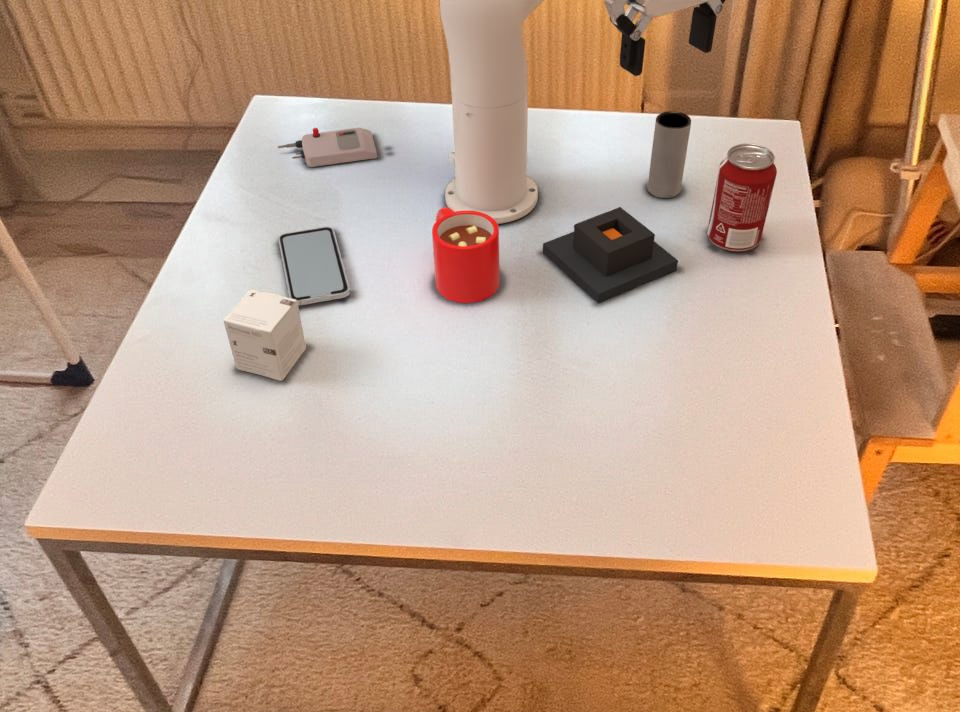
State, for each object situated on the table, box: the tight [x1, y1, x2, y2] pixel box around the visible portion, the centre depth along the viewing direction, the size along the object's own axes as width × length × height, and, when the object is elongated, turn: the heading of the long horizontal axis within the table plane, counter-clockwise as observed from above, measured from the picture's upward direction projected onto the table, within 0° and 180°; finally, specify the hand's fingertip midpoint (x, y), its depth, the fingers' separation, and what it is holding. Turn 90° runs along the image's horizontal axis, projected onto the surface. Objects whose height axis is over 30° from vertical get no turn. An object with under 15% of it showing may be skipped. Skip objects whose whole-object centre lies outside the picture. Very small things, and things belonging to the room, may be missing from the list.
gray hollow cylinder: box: [647, 110, 692, 199], centre depth 123 cm, size 4×4×10 cm
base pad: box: [542, 228, 679, 304], centre depth 115 cm, size 12×12×4 cm
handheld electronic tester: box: [277, 127, 378, 168], centre depth 134 cm, size 7×16×3 cm, turn 102°
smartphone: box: [277, 226, 351, 306], centre depth 117 cm, size 7×1×15 cm
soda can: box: [706, 143, 778, 252], centre depth 114 cm, size 7×7×12 cm
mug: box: [431, 206, 501, 304], centre depth 113 cm, size 8×12×8 cm, turn 28°
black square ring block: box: [573, 206, 656, 277], centre depth 114 cm, size 7×7×4 cm
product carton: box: [223, 288, 307, 382], centre depth 103 cm, size 6×6×7 cm
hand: (665, 59), depth 103 cm, fingers open, 9 cm apart
